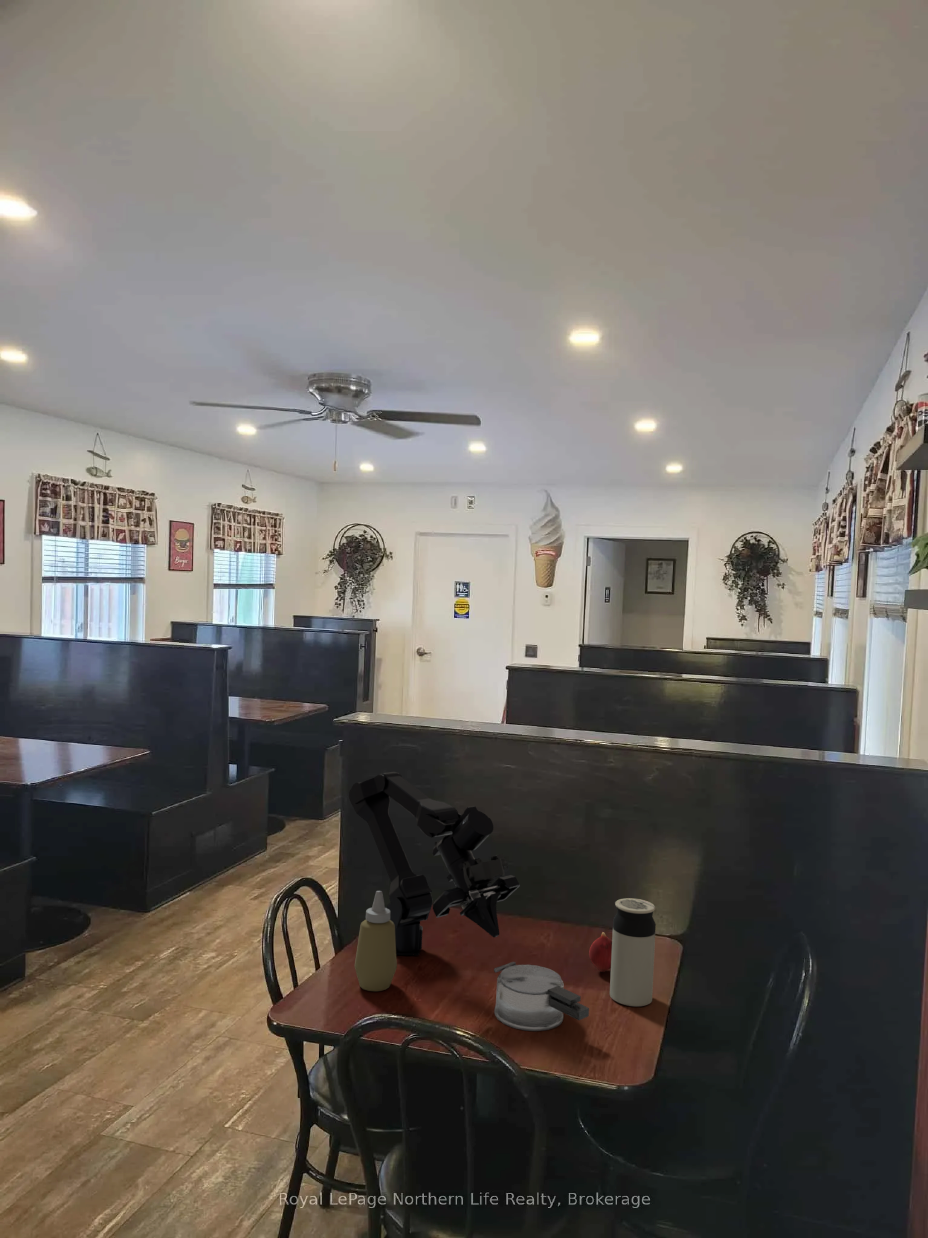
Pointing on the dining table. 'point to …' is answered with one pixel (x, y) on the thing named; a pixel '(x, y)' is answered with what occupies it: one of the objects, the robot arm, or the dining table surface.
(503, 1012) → the pot
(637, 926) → the travel mug
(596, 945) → the onion
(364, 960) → the squeeze bottle
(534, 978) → the lid
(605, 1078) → the dining table surface
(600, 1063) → the dining table surface
